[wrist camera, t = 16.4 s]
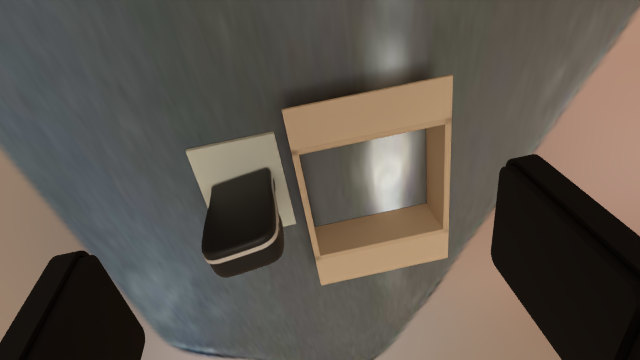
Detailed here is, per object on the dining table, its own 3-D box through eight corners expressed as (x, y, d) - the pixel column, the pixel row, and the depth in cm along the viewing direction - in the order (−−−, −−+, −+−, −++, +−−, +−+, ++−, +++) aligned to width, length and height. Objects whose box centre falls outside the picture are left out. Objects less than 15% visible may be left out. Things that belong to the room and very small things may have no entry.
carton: (431, 59, 39) (452, 75, 35) (431, 230, 51) (447, 257, 47) (278, 90, 38) (281, 110, 34) (315, 255, 51) (321, 285, 46)
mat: (273, 131, 41) (273, 133, 40) (295, 221, 47) (296, 223, 47) (186, 149, 40) (185, 151, 40) (220, 237, 47) (220, 240, 47)
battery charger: (223, 212, 45) (215, 290, 35) (208, 185, 42) (195, 260, 33) (282, 192, 44) (291, 265, 35) (270, 164, 42) (275, 234, 33)
